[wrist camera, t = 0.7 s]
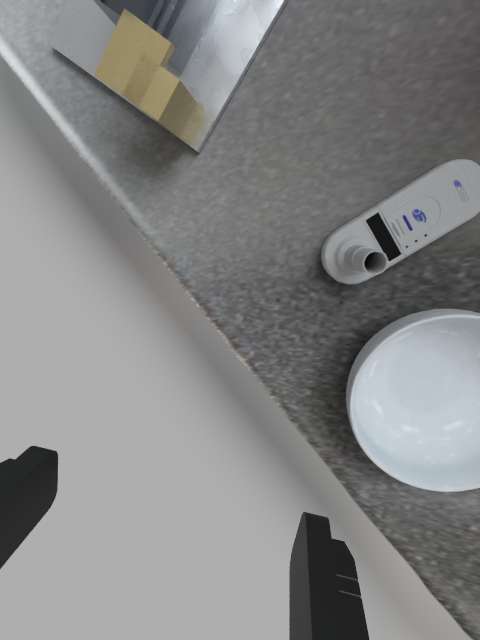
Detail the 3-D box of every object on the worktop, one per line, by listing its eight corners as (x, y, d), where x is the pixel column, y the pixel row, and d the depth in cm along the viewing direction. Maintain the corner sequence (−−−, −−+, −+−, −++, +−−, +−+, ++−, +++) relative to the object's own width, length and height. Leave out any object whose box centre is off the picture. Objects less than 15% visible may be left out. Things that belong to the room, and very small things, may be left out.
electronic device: (568, 194, 23) (359, 313, 26) (483, 204, 33) (337, 291, 36) (533, 119, 22) (322, 251, 26) (457, 151, 32) (310, 245, 35)
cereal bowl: (549, 356, 35) (612, 388, 28) (435, 472, 40) (465, 523, 33) (405, 263, 34) (435, 274, 28) (306, 393, 39) (311, 429, 32)
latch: (164, 61, 31) (124, 8, 23) (214, 97, 32) (191, 57, 24) (139, 109, 33) (93, 75, 25) (188, 144, 33) (157, 121, 25)
